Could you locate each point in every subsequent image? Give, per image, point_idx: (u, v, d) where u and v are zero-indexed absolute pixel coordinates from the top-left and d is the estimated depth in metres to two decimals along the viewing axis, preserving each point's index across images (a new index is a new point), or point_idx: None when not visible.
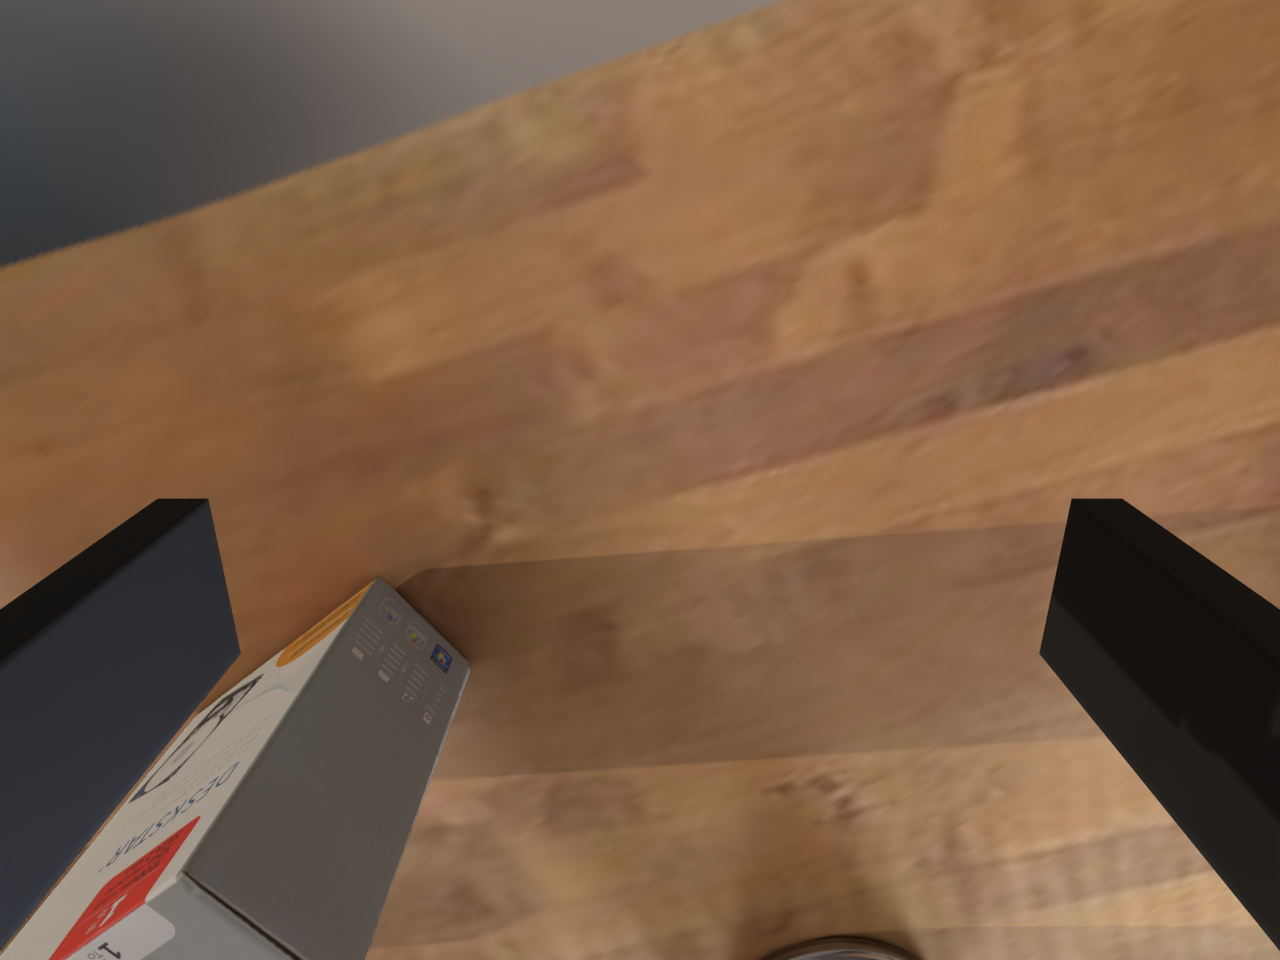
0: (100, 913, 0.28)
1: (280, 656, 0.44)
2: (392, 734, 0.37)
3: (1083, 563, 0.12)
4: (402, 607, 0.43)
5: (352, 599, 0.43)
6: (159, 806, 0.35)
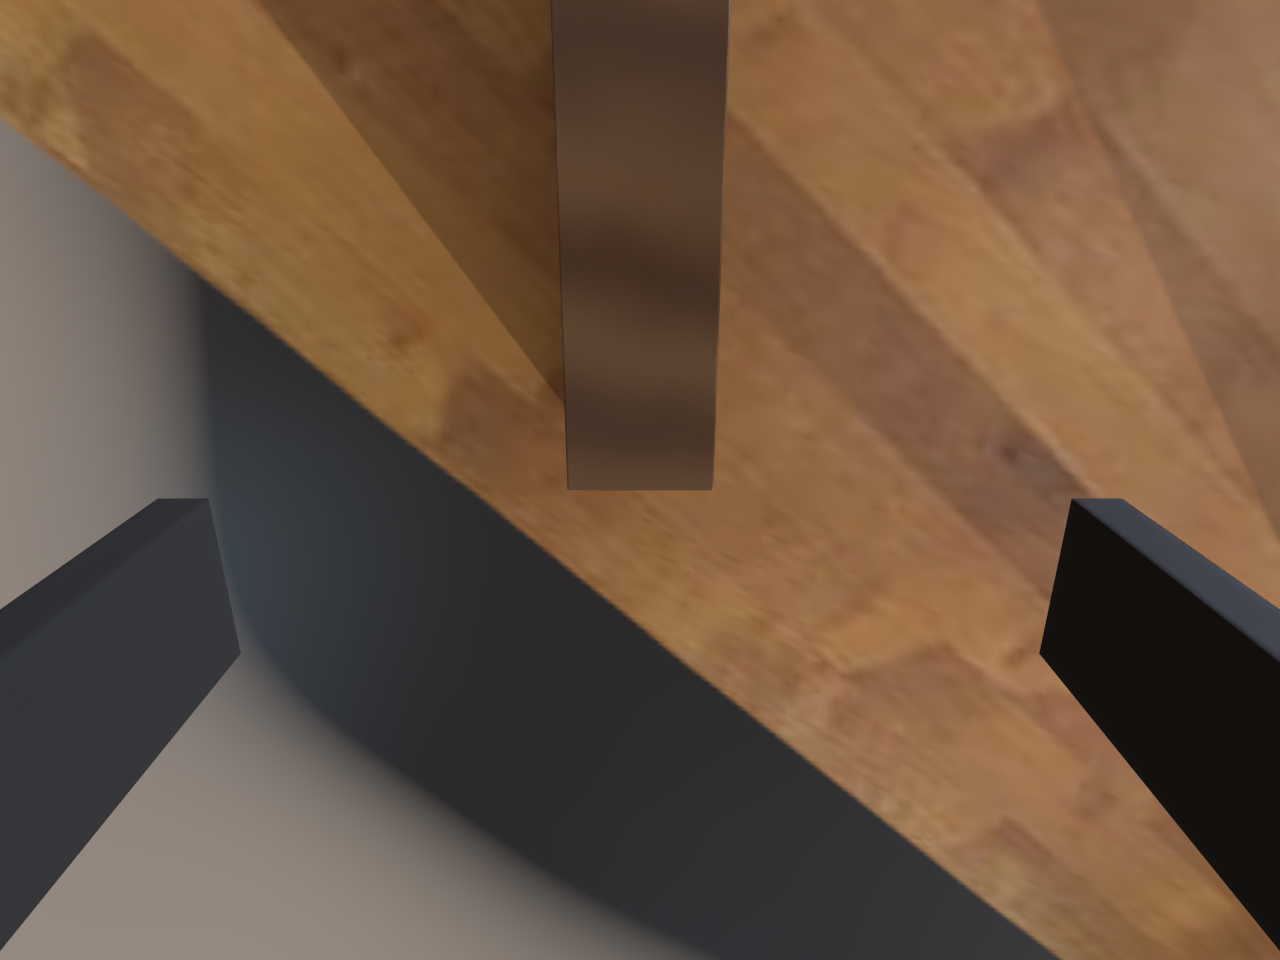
0: None
1: None
2: None
3: (1083, 563, 0.12)
4: None
5: None
6: None
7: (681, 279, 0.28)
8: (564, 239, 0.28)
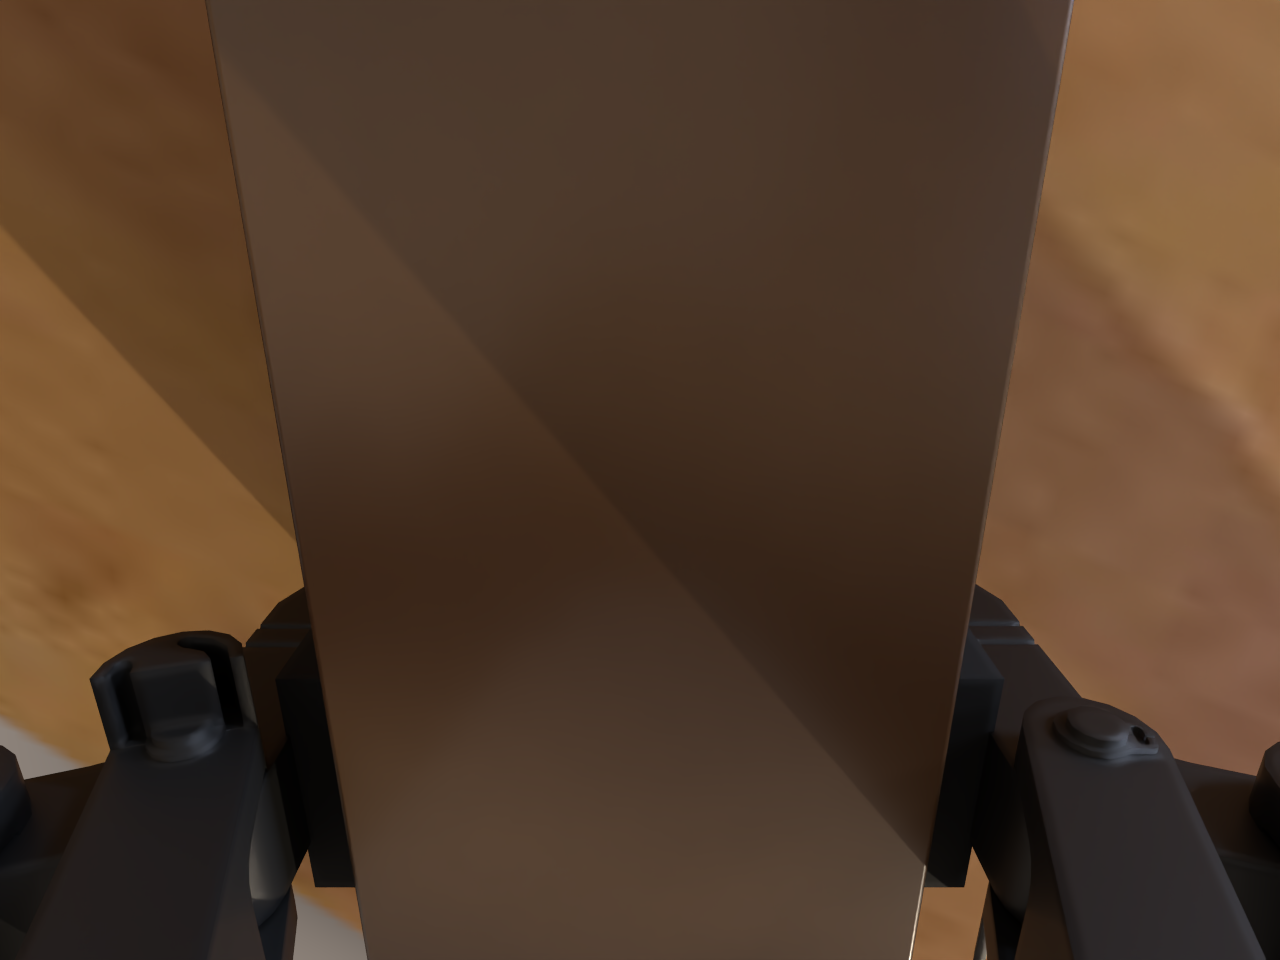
0: None
1: None
2: None
3: None
4: None
5: None
6: None
7: (806, 649, 0.07)
8: (312, 504, 0.07)
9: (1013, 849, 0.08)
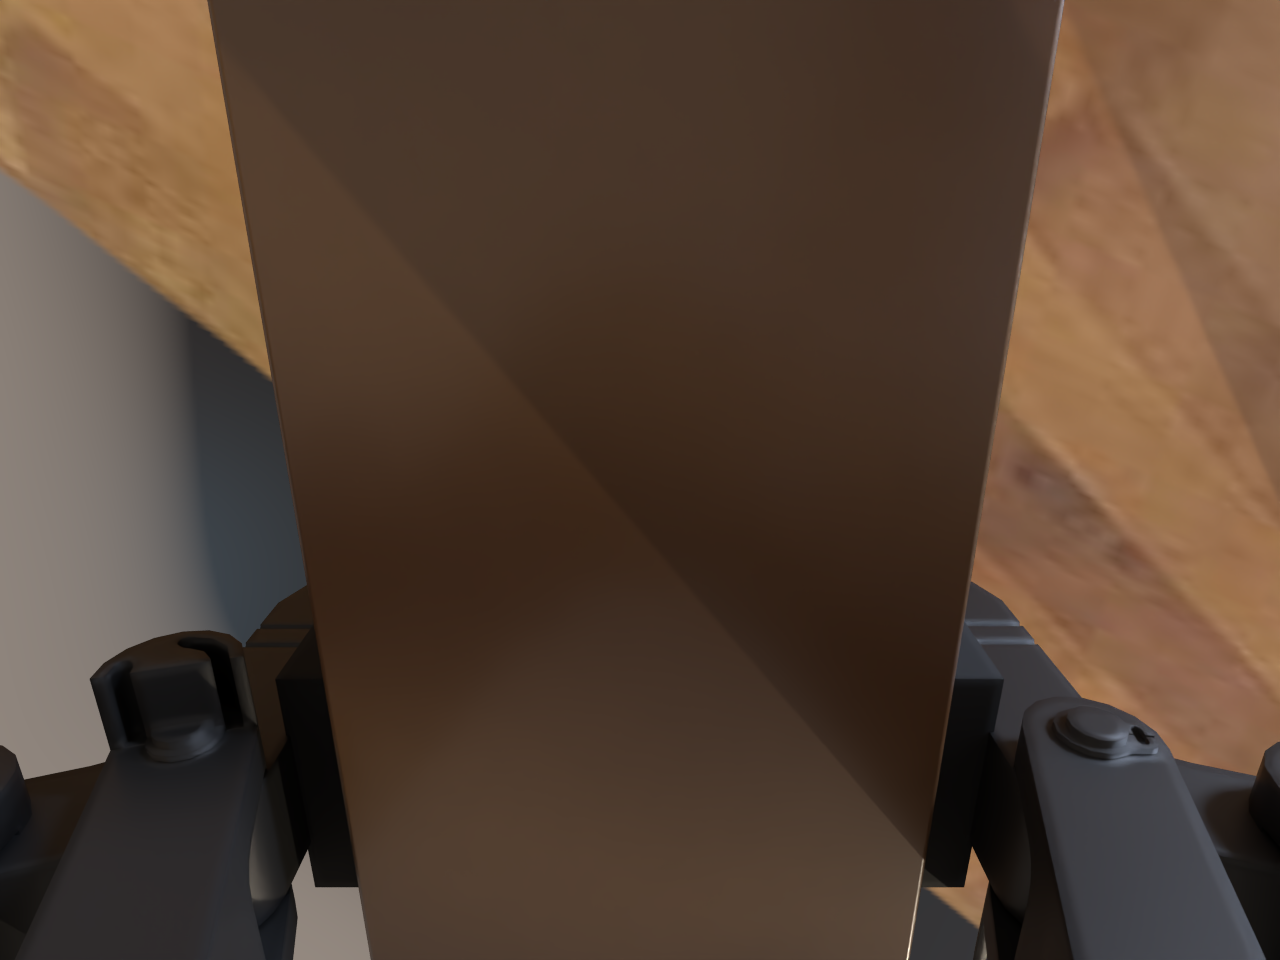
0: None
1: None
2: None
3: None
4: None
5: None
6: None
7: (804, 643, 0.07)
8: (314, 500, 0.07)
9: (1013, 849, 0.08)
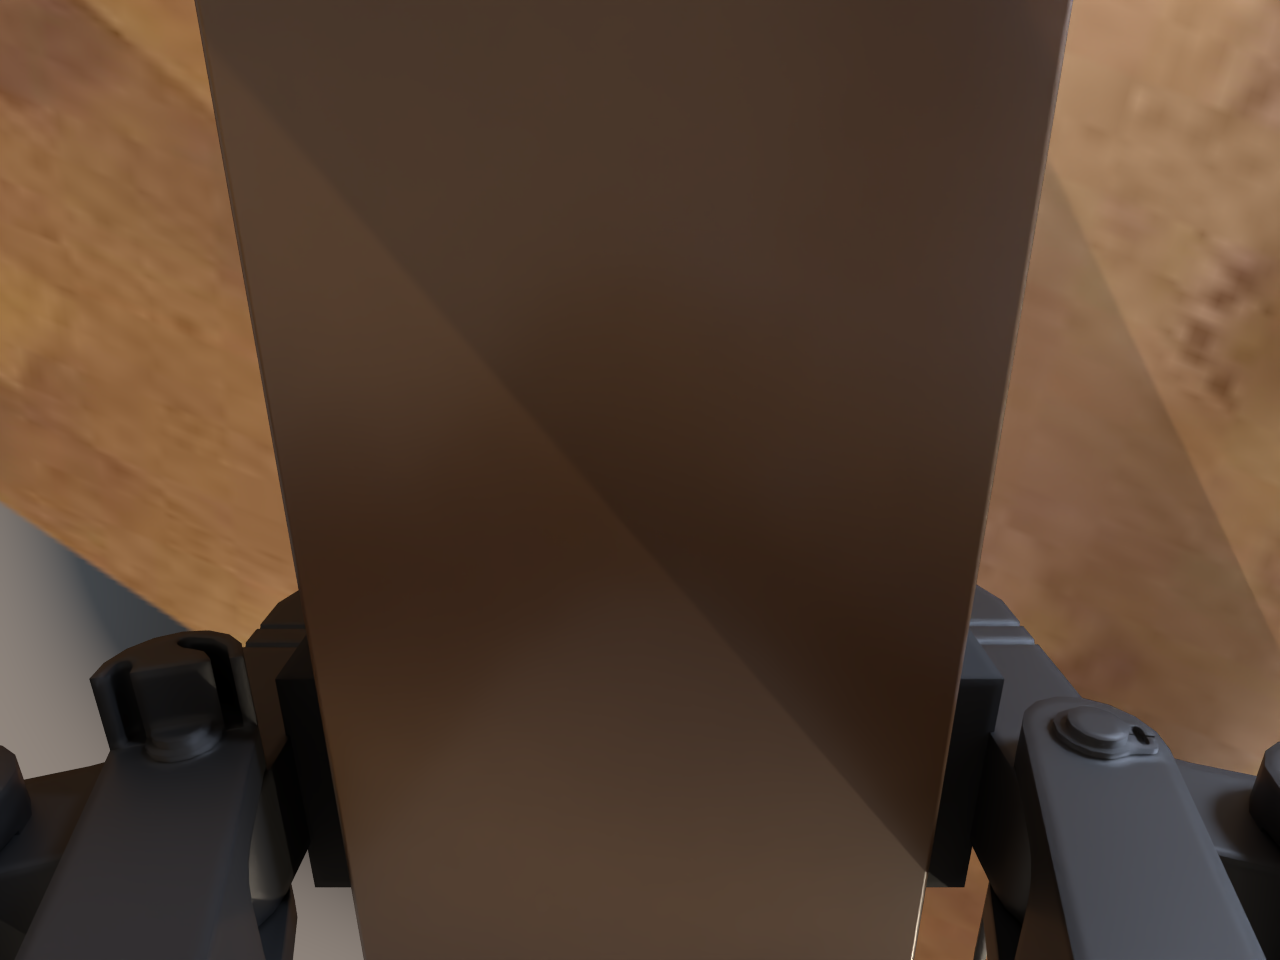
0: None
1: None
2: None
3: None
4: None
5: None
6: None
7: (806, 645, 0.07)
8: (304, 499, 0.06)
9: (1013, 849, 0.08)
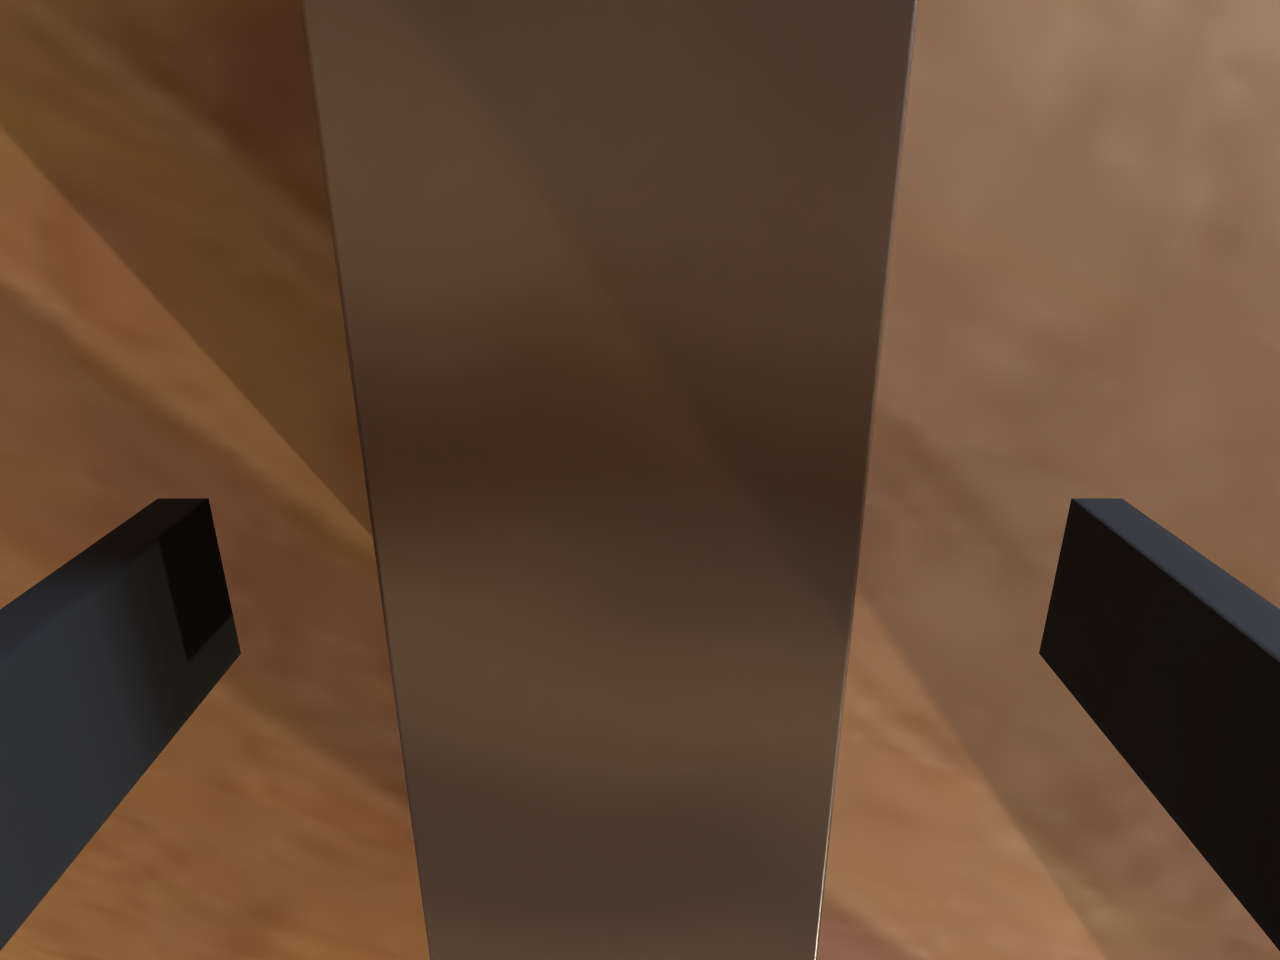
0: None
1: None
2: None
3: (1082, 563, 0.12)
4: None
5: None
6: None
7: (744, 505, 0.09)
8: (370, 391, 0.09)
9: None
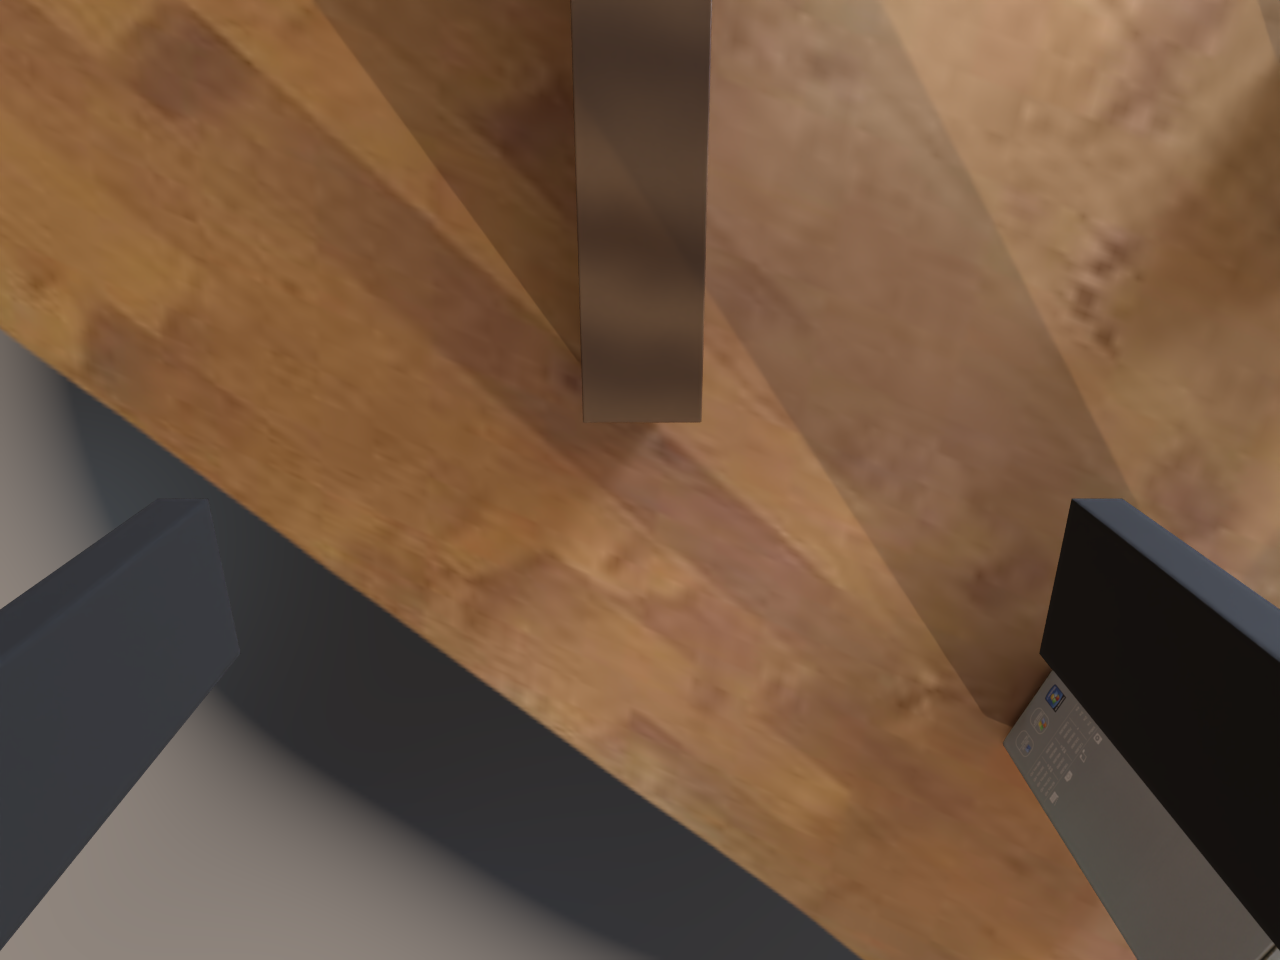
0: None
1: None
2: (1108, 787, 0.45)
3: (1083, 563, 0.12)
4: (1021, 728, 0.53)
5: None
6: None
7: (674, 249, 0.36)
8: (581, 216, 0.35)
9: None
